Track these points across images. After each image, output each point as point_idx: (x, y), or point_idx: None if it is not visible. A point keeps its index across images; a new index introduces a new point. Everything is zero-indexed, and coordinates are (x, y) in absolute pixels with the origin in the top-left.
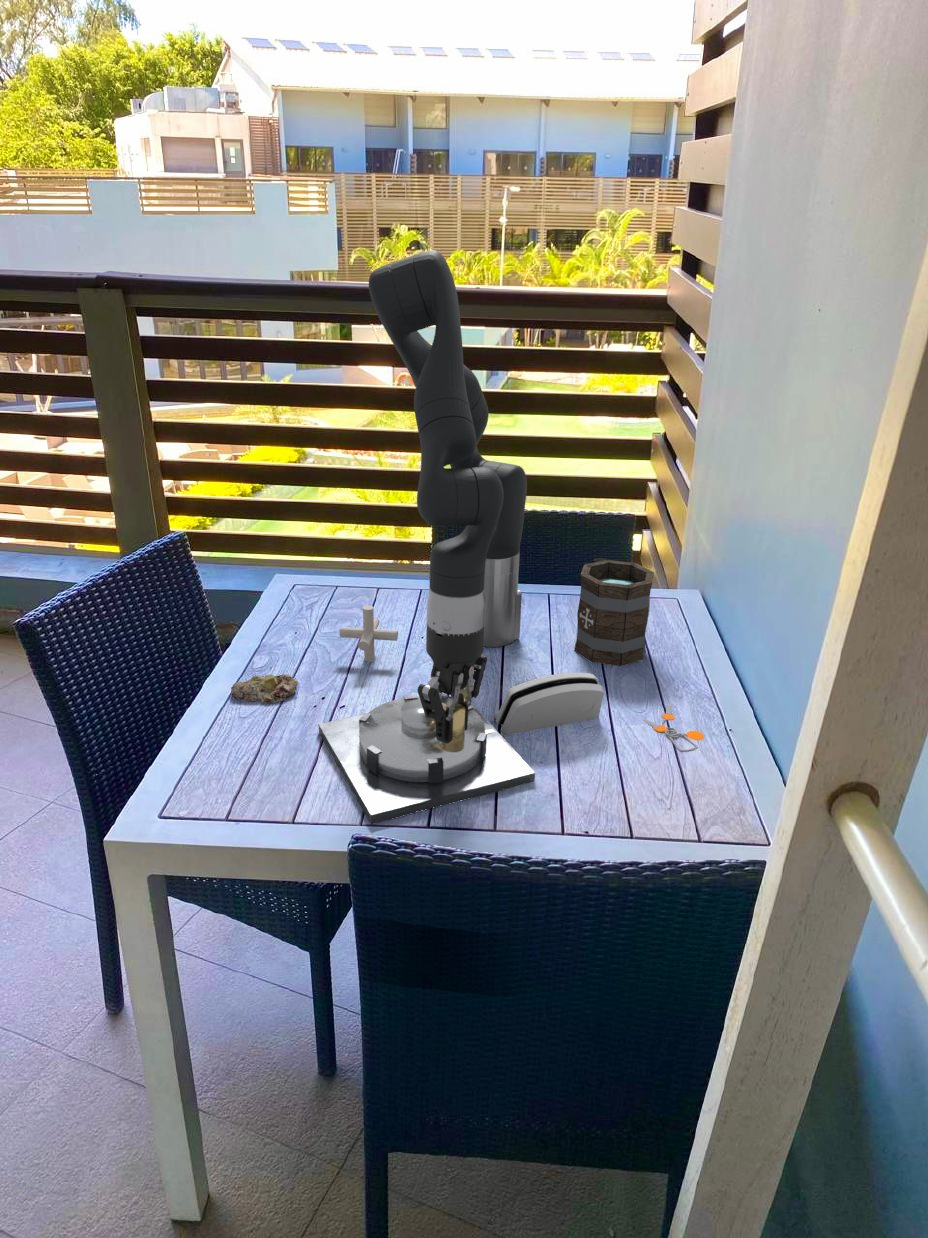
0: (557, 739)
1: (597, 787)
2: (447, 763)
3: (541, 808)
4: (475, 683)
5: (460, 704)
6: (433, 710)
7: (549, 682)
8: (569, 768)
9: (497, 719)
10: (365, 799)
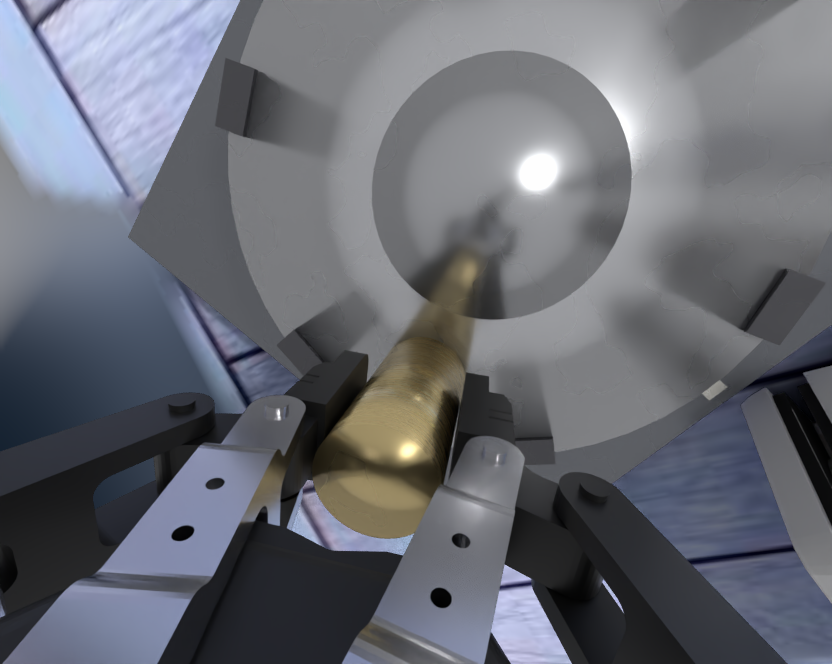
0: (771, 553)
1: (552, 654)
2: None
3: None
4: (583, 661)
5: None
6: (162, 460)
7: None
8: (612, 596)
9: (826, 377)
10: (163, 183)
